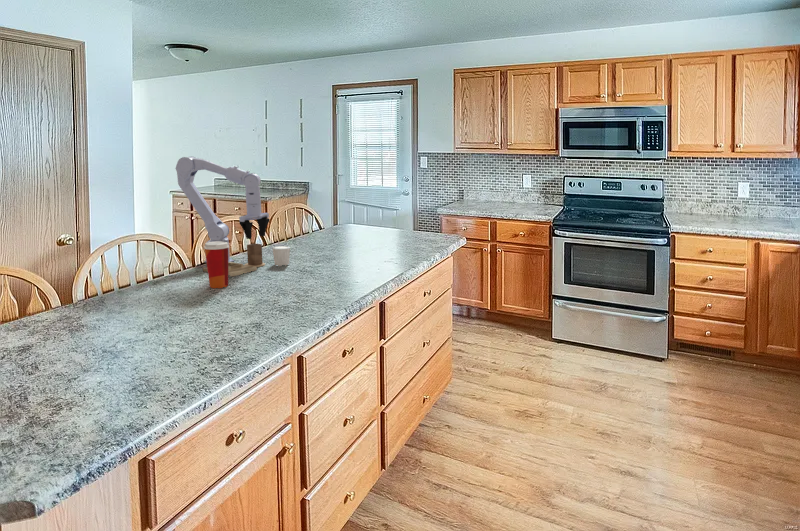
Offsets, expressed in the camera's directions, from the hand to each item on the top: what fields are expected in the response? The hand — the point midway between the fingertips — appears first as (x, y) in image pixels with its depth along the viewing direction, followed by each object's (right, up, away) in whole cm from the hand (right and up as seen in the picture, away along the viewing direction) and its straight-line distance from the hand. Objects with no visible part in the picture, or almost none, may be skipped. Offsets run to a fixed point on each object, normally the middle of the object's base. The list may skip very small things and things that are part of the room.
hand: (255, 237), depth 232 cm
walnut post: (+1, -11, -4) cm, 12 cm away
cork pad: (+1, -11, -4) cm, 12 cm away
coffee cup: (-3, -19, -37) cm, 42 cm away
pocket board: (-6, -13, -14) cm, 20 cm away
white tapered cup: (+11, -11, -2) cm, 16 cm away
